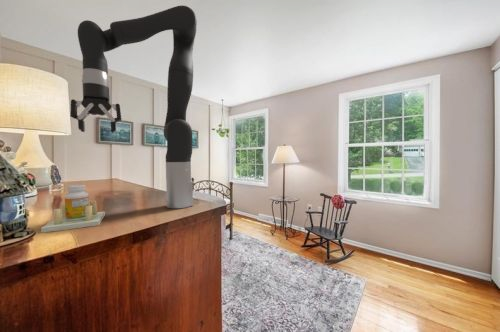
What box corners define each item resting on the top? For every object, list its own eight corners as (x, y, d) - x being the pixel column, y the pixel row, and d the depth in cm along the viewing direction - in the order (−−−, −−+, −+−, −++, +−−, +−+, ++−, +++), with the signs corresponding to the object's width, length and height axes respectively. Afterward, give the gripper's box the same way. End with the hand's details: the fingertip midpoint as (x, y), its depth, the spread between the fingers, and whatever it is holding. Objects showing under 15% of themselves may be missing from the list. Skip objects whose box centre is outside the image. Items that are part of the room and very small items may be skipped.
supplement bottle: (65, 218, 62) (64, 185, 61) (88, 215, 65) (87, 184, 65) (65, 222, 58) (63, 187, 57) (90, 218, 61) (88, 185, 61)
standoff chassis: (104, 215, 69) (104, 199, 69) (98, 225, 59) (98, 206, 59) (57, 220, 64) (56, 203, 64) (41, 232, 53) (40, 212, 53)
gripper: (120, 91, 80) (122, 134, 80) (73, 85, 73) (75, 132, 73) (119, 85, 73) (120, 132, 74) (66, 78, 66) (68, 129, 67)
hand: (98, 132), depth 74 cm, fingers open, 8 cm apart
